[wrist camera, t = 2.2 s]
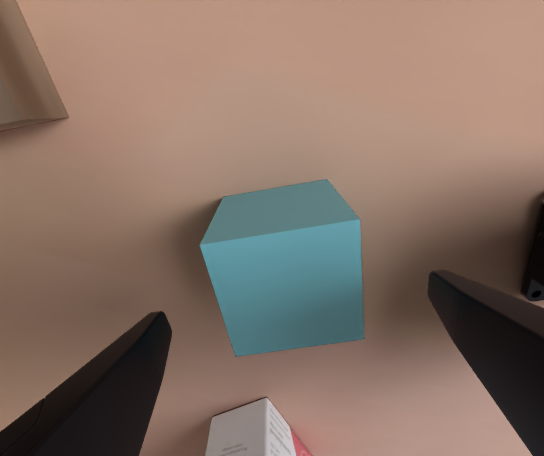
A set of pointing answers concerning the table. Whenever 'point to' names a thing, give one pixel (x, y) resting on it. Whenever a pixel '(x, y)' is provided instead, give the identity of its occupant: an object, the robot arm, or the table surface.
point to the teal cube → (286, 268)
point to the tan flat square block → (23, 75)
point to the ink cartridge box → (253, 433)
